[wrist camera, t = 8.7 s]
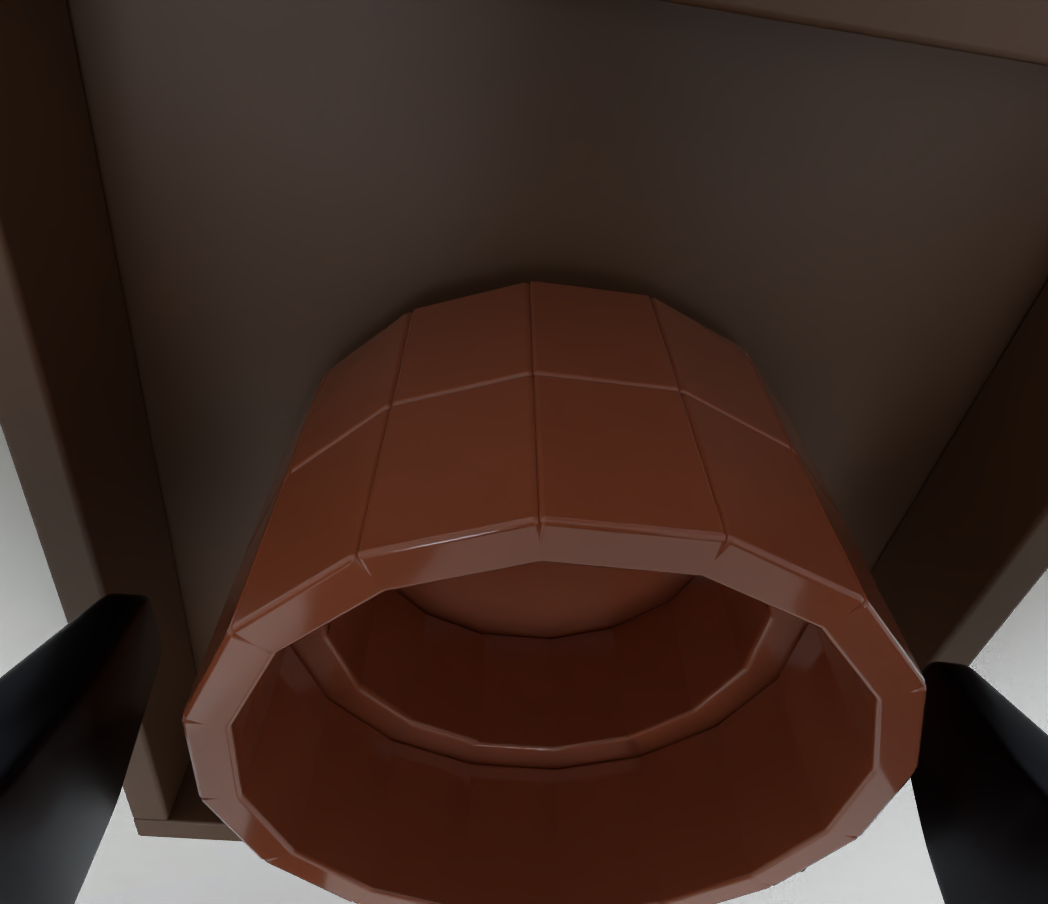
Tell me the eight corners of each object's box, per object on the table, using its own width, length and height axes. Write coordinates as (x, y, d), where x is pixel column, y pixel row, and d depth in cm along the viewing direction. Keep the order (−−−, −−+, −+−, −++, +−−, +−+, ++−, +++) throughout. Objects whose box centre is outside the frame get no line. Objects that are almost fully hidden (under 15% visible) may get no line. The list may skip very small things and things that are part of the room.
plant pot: (705, 660, 14) (773, 941, 10) (303, 628, 13) (225, 916, 9) (868, 304, 9) (1089, 572, 6) (283, 228, 9) (123, 480, 5)
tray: (770, 756, 16) (804, 872, 14) (184, 715, 15) (138, 837, 13) (1237, 3, 8) (1472, 47, 6) (-22, -227, 7) (-239, -266, 5)
